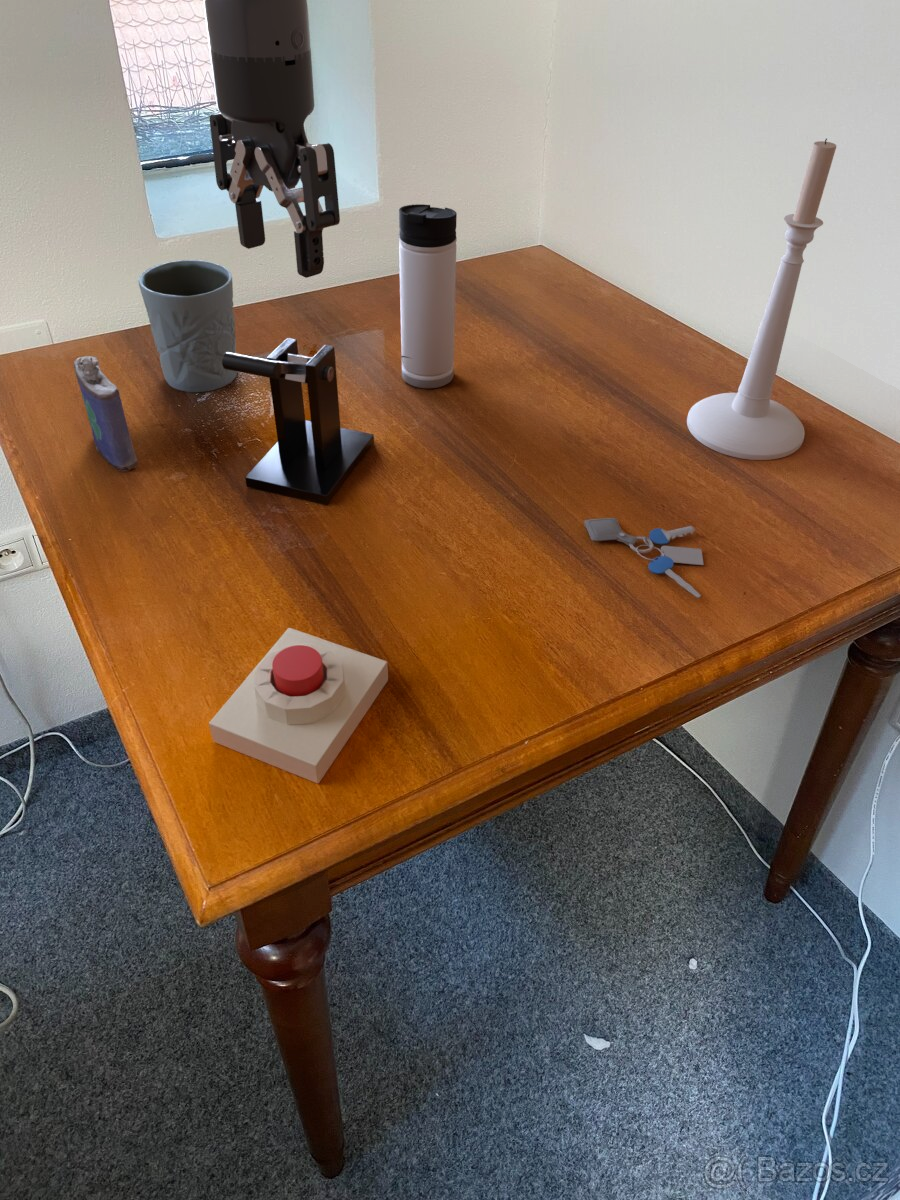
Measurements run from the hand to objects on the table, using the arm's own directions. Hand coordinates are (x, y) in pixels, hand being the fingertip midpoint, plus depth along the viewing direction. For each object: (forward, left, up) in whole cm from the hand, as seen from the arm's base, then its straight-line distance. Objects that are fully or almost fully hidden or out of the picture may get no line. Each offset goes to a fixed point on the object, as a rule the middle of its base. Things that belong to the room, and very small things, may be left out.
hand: (281, 259), depth 76 cm
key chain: (+23, -29, -22) cm, 43 cm away
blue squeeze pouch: (-16, +13, -22) cm, 30 cm away
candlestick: (+46, -18, -22) cm, 54 cm away
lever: (-3, -3, -10) cm, 10 cm away
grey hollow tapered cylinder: (-2, +24, -22) cm, 33 cm away
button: (-14, -30, -18) cm, 38 cm away
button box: (-14, -30, -22) cm, 39 cm away
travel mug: (+21, +10, -22) cm, 32 cm away
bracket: (+1, 0, -22) cm, 22 cm away
